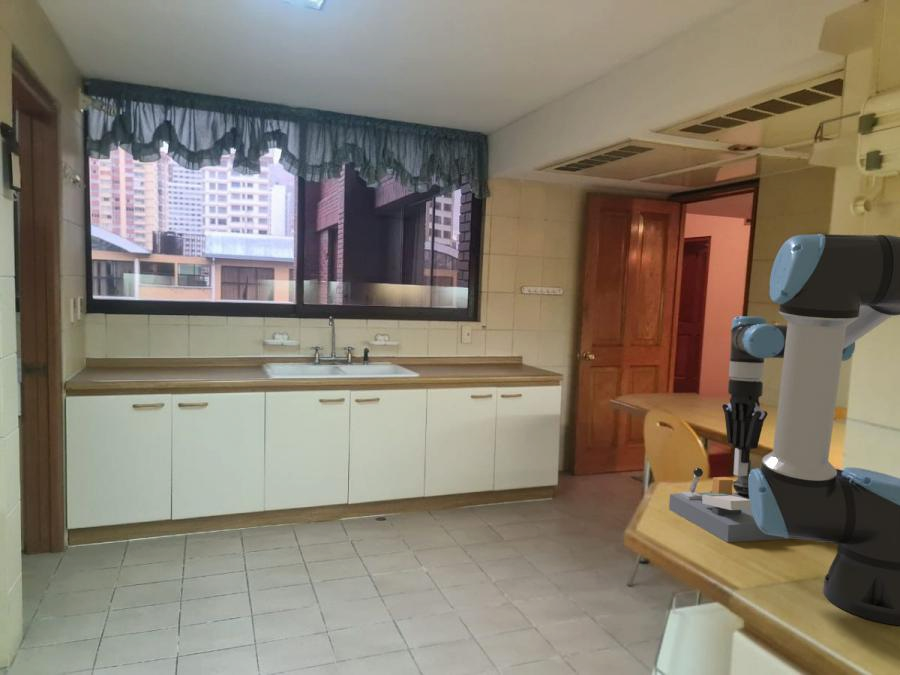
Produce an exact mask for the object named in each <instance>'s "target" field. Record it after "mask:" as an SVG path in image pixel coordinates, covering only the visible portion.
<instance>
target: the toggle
mask: <svg viewBox="0 0 900 675" xmlns="http://www.w3.org/2000/svg"><path fill="white" fill-rule="evenodd" d="M703 474H704V471H703V469H702V468H700V467H696V468H694V469H693V479H692V482H691V485H690V487H689V492H691V493H694V492H695V491H696V488H697V485H698V483H699V480H700V477H702V476H703ZM695 493H696V492H695Z"/></svg>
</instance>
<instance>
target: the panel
mask: <svg viewBox="0 0 900 675" xmlns="http://www.w3.org/2000/svg"><path fill="white" fill-rule="evenodd" d="M735 493H736V492H732V495H731V496H736V497H741V496H739V495H737V494H735ZM705 494H714V493H712V490H711V491H709V492H694V493H691V492H690V491H681V492H680V493H670V494H669V505H668V510H670V512H673V513H675V514H677V515H678V516H680V517H682V518H684V519H685V520H687V521H689V522H691V523H692V524H694V525H695V526H697V527H699V528H701V529H703V530H704V531H706V532H708V533H710V534H711V535H713V536H715V537H717V538H719V540H722V541H724V542H726V543H741V542H742V543H745V542H756V541H757V542H759V541H773V540H789V539H792V540H793V538H788V539H787V538H784V537H781V536H774V535H768V534H765V533H764V532H762V531H761V530H760V529H759V528H758V526H757V524H756V522H755V520H754V517H753V514H752V510H751V509H745V510H728V509H724V508H720V507H715V506H711V505H707V504H703V502H702V495H705ZM741 498H744V497H741Z"/></svg>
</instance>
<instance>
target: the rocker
mask: <svg viewBox="0 0 900 675" xmlns="http://www.w3.org/2000/svg"><path fill="white" fill-rule="evenodd" d="M702 502H703V504H707V505H711V506H715V507H720V508H724V509H728V510H745V509H751V505H750V499H746V498H741V497H736V496H731V495H728V494H705V495H702Z"/></svg>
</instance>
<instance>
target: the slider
mask: <svg viewBox="0 0 900 675" xmlns="http://www.w3.org/2000/svg"><path fill="white" fill-rule="evenodd" d="M711 487H712V488H711V489H712V490H711V491H712V493H714V494H728V495H732V493H733V479H732V478H730V477H728V476H727V477H726V476H723V477H722V476H720V477H719V476H718V477H712V486H711Z"/></svg>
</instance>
